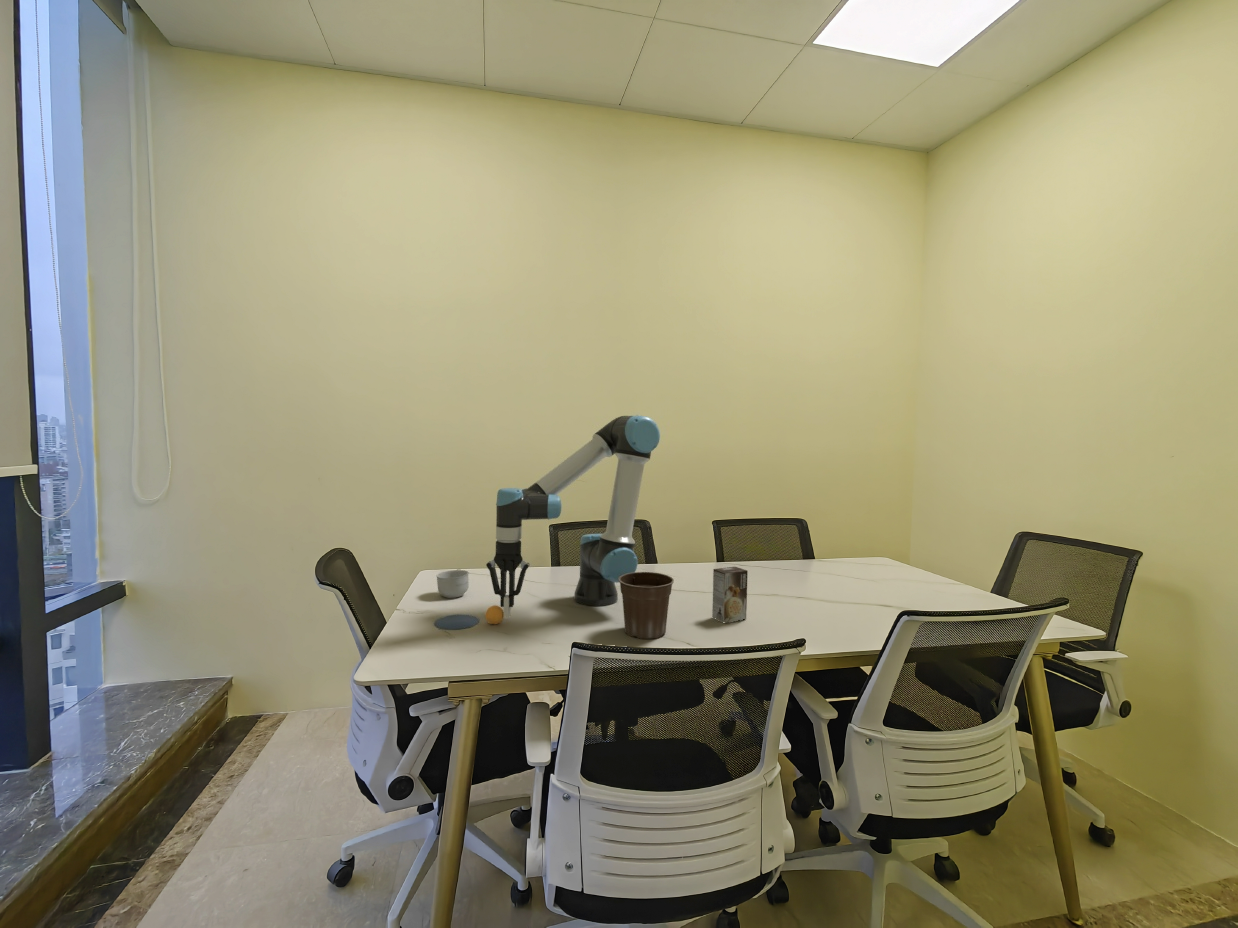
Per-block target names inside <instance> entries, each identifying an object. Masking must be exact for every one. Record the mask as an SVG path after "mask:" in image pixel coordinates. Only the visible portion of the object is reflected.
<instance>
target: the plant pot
mask: <svg viewBox="0 0 1238 928" xmlns="http://www.w3.org/2000/svg"><path fill="white" fill-rule="evenodd" d="M618 580H619V582H620V583H619V587H620V594H621V595H622V596H621V598H622V608H623V620H624V622H623V623H624V632H625V634H626V635H627V636H629V637H632V638H634V637H637V639H642V640H644V639H645V640H652V639H658V638H660V637H662V636H663V635H665V634H666V631H667V622H668V614H669V613H668V612H669V604H670V596H671V594H672V586H673V584H674V582H675V580H674V578H673V577H672V576H669V575H668V574H665V573H661V572H660V573H659V572H654V571H652V572H651V571H640V572H639V571H635V572H633V573H628V574H624V575H622V576H620V577H619V578H618Z"/></svg>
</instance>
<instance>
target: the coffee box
mask: <svg viewBox="0 0 1238 928" xmlns="http://www.w3.org/2000/svg"><path fill="white" fill-rule="evenodd" d="M712 571H713V572H712V574H713V577H712V578H713V581H712V611H711V613H712V615H711V617H713V618H712V619H714V618H716V619H718V620H719V621H718V620H717V621H718V622H720V621H721V622H720V623H722V622H729V623H733V622H732V621H735V622H739V621H738V620H740V621H744V620H743V619H746V620H747V610H748V609H747V607H748V604H747V602H748V601H747V600H748V573H749V572H748V570H747V569H743V568H741V567H737V566H729V567H727V566H726V567H723V568H722V567H720V568H714V569H713V570H712ZM716 619H715V620H716Z"/></svg>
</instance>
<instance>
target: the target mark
mask: <svg viewBox="0 0 1238 928" xmlns="http://www.w3.org/2000/svg"><path fill="white" fill-rule="evenodd" d="M479 622H480V620H479V618H478V616H475V615H471V614H463V613H462V614H451V615H446V616H442V617H439V618H438V619H436V620H435V621H434V626H435V627H436V628H438V629H442V630H449V631H450V630H453V631H454V630H455V631H456V630H463V629H465V630H466V629H469V628H472V627H474V626H475V627H476V625H478V624H479Z"/></svg>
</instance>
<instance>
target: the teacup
mask: <svg viewBox="0 0 1238 928" xmlns="http://www.w3.org/2000/svg"><path fill="white" fill-rule="evenodd" d="M469 574H470V572H469V571H468V570H464V569H460V568H458V569H451V570H446V571H441V572H439V573H437V574H436V582H437V583H436V585H437V590H438V593H439V594H440V595H441V596H442V597H444V598H446V599H447V598H448V599H451V598H452V599H454V598H458V597H459V598H460V597H462V596H464V595H465V593H466V592H467V591H468V590H469V586H470V584H469V583H470V582H469V581H470V579H469Z"/></svg>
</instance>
